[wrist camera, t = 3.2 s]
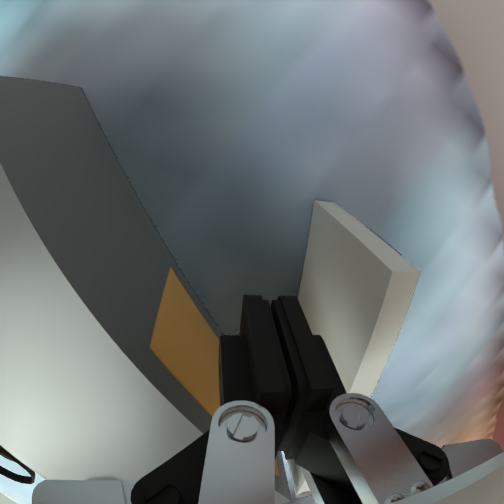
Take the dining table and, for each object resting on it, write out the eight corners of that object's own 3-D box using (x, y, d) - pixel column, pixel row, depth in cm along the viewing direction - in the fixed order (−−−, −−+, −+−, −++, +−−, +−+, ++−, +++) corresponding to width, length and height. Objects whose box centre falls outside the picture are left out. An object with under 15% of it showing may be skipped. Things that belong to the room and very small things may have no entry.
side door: (298, 406, 20) (324, 494, 14) (274, 407, 20) (294, 498, 13) (348, 203, 15) (440, 272, 8) (314, 200, 15) (392, 271, 8)
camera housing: (271, 401, 20) (295, 512, 12) (135, 440, 21) (125, 532, 13) (66, 51, 10) (-60, 13, 2) (-62, 182, 11) (-157, 233, 3)
